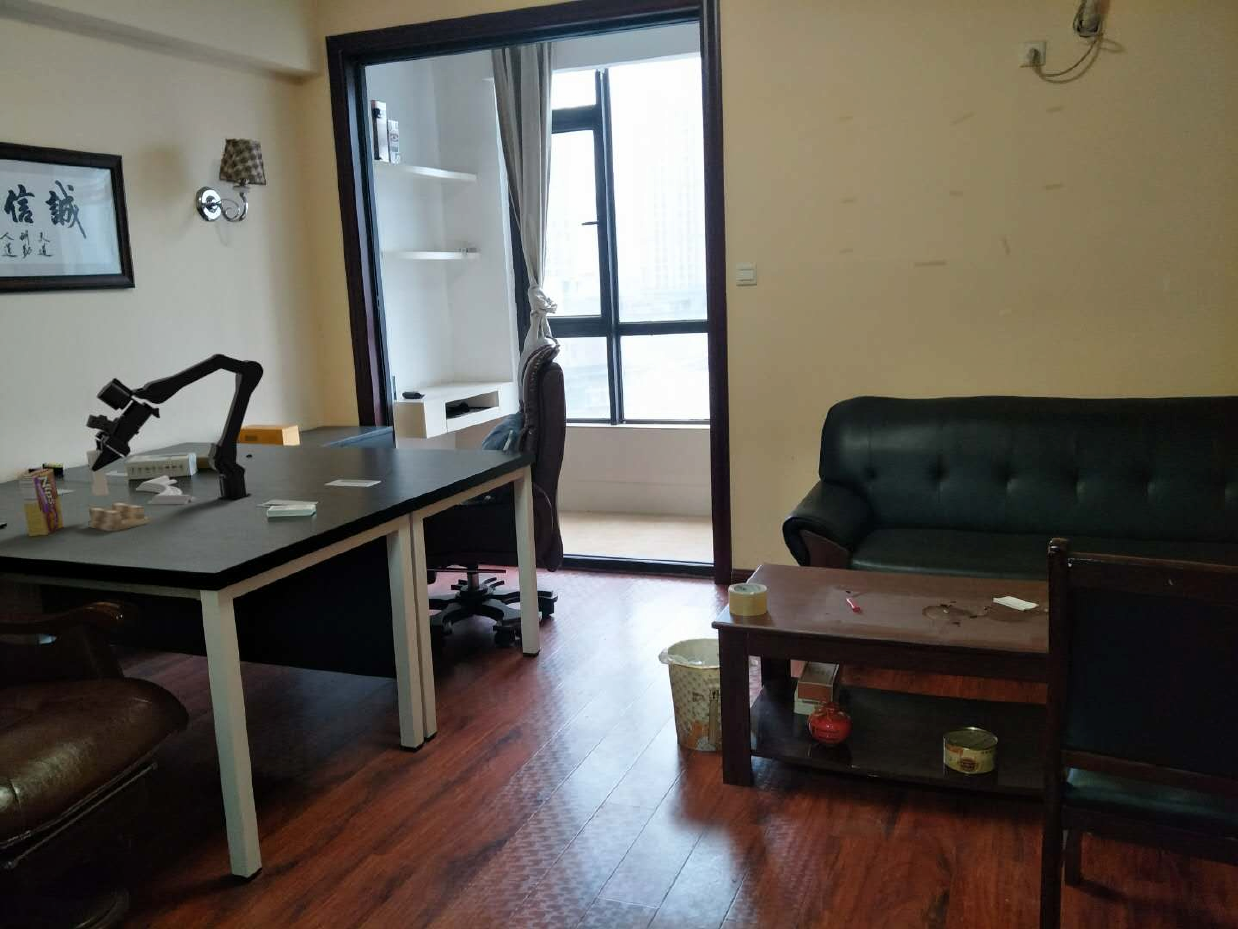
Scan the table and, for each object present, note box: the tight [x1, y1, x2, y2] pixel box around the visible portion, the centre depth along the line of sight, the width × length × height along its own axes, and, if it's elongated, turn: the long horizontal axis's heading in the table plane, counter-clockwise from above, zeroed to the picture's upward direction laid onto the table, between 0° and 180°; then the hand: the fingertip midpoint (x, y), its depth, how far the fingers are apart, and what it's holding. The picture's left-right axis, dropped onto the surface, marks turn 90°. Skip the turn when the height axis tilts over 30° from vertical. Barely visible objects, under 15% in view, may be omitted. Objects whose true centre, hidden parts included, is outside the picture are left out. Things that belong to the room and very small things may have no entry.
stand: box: [87, 502, 149, 532], centre depth 255 cm, size 12×9×4 cm
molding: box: [135, 474, 198, 506], centre depth 293 cm, size 42×12×3 cm, turn 32°
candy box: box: [17, 468, 65, 537], centre depth 251 cm, size 9×4×15 cm, turn 0°
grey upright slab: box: [85, 449, 110, 496], centre depth 262 cm, size 6×3×11 cm, turn 34°
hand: (90, 469), depth 261 cm, fingers closed on grey upright slab, 6 cm apart
